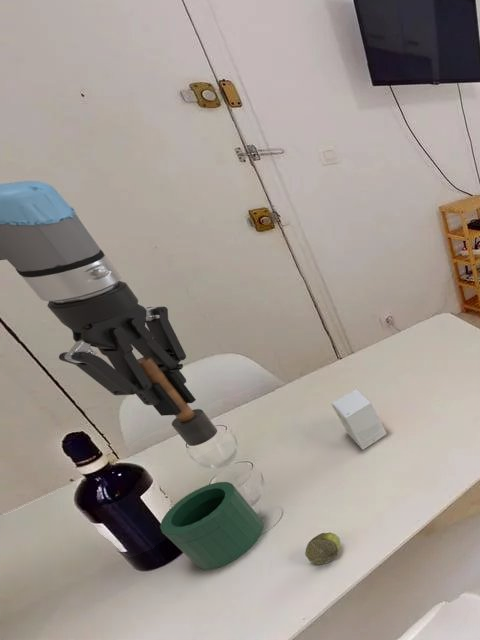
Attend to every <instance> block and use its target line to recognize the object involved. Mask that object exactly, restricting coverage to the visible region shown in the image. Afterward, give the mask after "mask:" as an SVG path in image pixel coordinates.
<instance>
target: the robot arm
mask: <svg viewBox="0 0 480 640" xmlns="http://www.w3.org/2000/svg"><path fill="white" fill-rule="evenodd" d="M5 260H6V261H7V262H8V263H10V265H11V266H12V267H14V269H15V271H16V272H17V274H19V276H21V278H22V279H23V280H24V281H25V282H26V284H27V285H28V286H29V287H30V289H31V290H32V291H33V292H34V293H35V295H36V296H37V297H38V298H39V300H42V301H45V302H48V303H47V308H48V309H49V310H50V311H51V313H53V314H54V316H55V317H56V319H58V320H59V322H60V323H61V324H62V325H64V326H65V327H67V328H68V329H69V330H71V332H72V339H73V340H74V342H75V343H74V344H73V346H72V347H71V349H70V350H69V351H65V352H61V353H60V354H59V355H58V359H59V360H60V361H62V362H65V363H69V364H72V365H74V366H76V367H77V368H79V369H80V370H81V371H82V372H84V373H85V374H87V375H88V376H89V377H90V378H91V379H93V380H94V381H96V382H97V383H98V384H99V385H100V386H102V387H103V388H104V389H106V390H107V391H108V392H109V393H110V394H112V395H113V396H133V395H136V396H137V397H138V398H139V400H140V401H141V402H142V404H144V405H146V406H152V407H153V408H154V409H155V410H156V411H157V412H158V414H159V415H160V416H163V417H164V416H175V415H178V414H179V413H181V412H182V411H181V410H180V409H179V407H178V406H177V405H176V404H175V402H174V401H173V400H172V399H171V397H170V396H169V395H168V394H167V392H166V391H165V390H164V388H163V387H162V386H161V385H160V383H151V382H150V380H149V378H148V377H147V375H146V373H145V372H144V370H143V369H142V367H141V365H140V364H139V362H138V361H137V358H136V355H135V354H134V352H133V350H136V351H137V352H138V353H139V354H140V355H141V356H142V357H146V356H150V357H151V358H152V359H153V361H154V362H155V363H156V364H157V366H158V367H159V368H160V370H161V371H162V372H163V373H164V375H165V376H166V377H167V379H168V380H169V381H170V382H171V384H172V385H173V386H174V388H175V389H176V390H177V391H178V393H179V394H180V395H181V397H182V398H183V399H184V400H185V402H186V403H187V404H193V403H194V402H195V401H197V399H196V398H195V397H194V395H193V394H192V392H191V391H190V390H189V389H188V387H187V386H186V385H185V384H186V383H187V378H186V377H185V376H184V375H183V373H182V372H181V370H183V368H184V364H183V363H181V362H182V361H185V360H186V358H187V354H186V352H185V350H184V347H183V346H182V344H181V342H180V341H179V338H178V337H177V334H176V332H175V330H174V328H173V327H172V324H171V322H170V319H169V310H168V307H166V306H148V307H145V306H143V305H141V304H139V299H138V297H137V296H136V294H135V293H134V292H133V290H132V289H131V288H130V287H129V285H128V284H127V282H124V281H122V280H121V279H122V276H121V275H120V273H119V272H118V271H117V269H116V267H114V265H113V264H112V262H111V260H109V258H108V257H107V256H106V254H105V253H104V251H103V250H102V249H101V248H100V246H99V245H98V244H97V242H96V241H95V239H94V238H93V236H92V235H91V234H90V232H89V231H88V229H87V228H86V227H85V225H84V224H83V222H82V221H81V219H80V218H79V216H78V215H77V212H76V210H75V209H74V207H72V206H71V205H69V202H67V201H66V199H64V197H62V195H61V194H60V193H59V192H58V190H56V188H55V187H54V186H53V185H51V184H49V183H47V182H45V181H44V182H43V181H40V180H23V181H14V182H4V183H0V261H5ZM91 347H94V348H97V349H98V350H99V352H100V354H101V355H103V356H105V357H106V358H107V359H108V361H109V362H110V363H111V364H109V363H108V362H107V361H105V359H103V358H102V357H100V356H98V355H97V351H96V350H93V349H92V348H91Z"/></svg>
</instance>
